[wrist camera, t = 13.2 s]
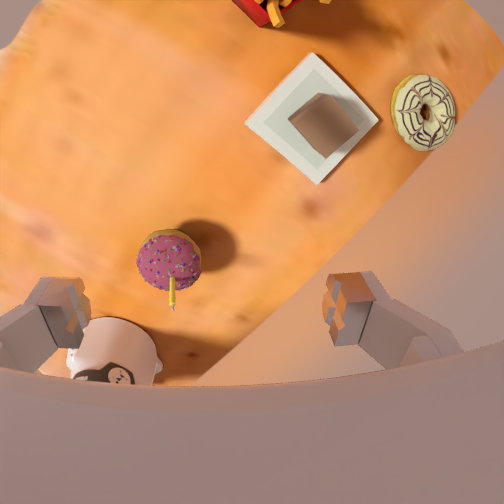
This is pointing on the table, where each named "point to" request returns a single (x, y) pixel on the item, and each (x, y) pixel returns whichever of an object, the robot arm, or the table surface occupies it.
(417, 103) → the decorated donut
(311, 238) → the table surface
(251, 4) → the french fries
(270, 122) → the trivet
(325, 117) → the walnut cube
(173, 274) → the cupcake
